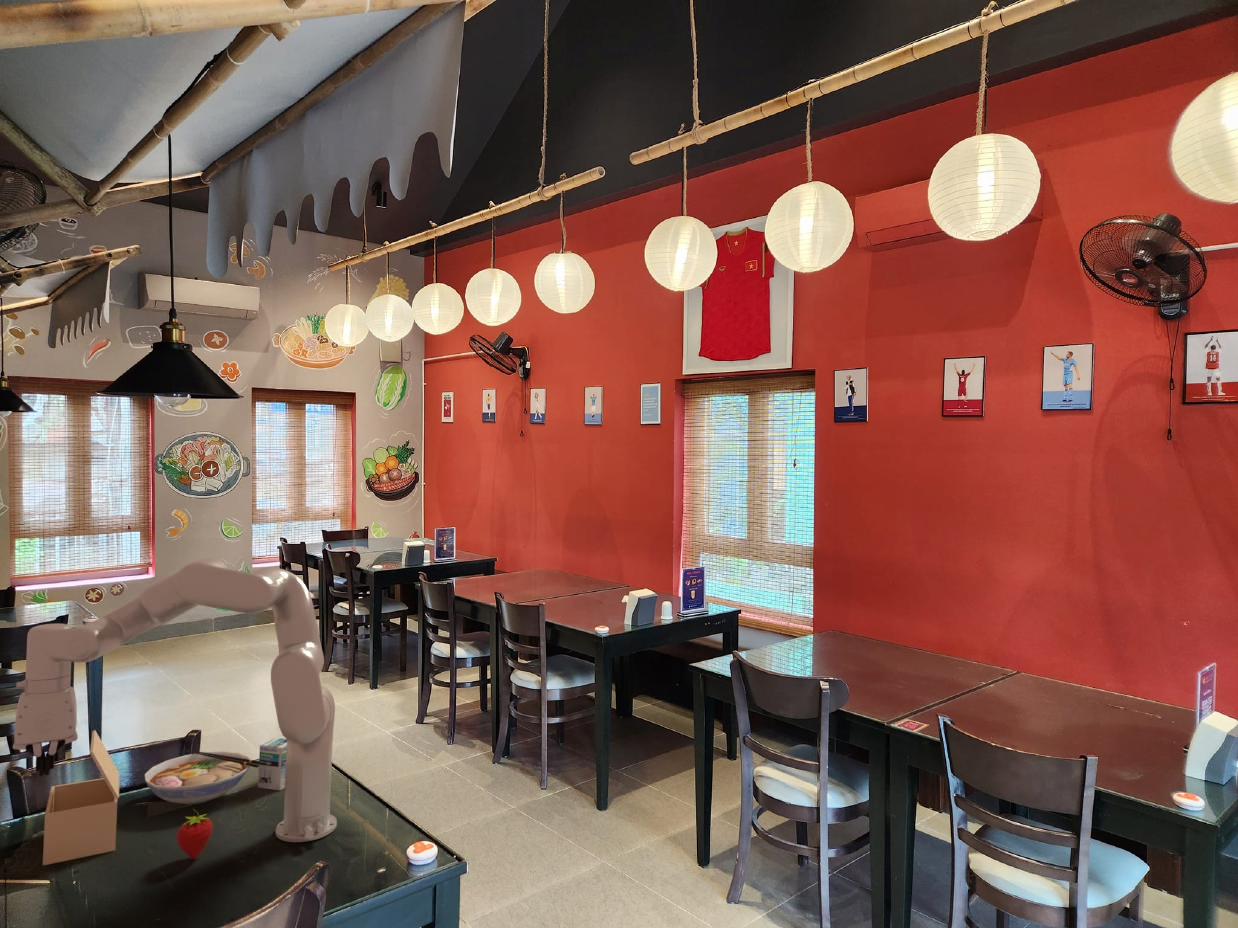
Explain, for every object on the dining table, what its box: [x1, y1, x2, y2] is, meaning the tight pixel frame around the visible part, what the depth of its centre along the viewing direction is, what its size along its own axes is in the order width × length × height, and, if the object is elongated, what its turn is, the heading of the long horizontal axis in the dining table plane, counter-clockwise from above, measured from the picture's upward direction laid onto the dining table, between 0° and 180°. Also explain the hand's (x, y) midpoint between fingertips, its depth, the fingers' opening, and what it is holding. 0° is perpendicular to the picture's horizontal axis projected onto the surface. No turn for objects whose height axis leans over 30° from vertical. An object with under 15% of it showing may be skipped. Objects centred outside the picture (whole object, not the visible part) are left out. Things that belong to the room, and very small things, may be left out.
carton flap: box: [89, 729, 120, 800], centre depth 161 cm, size 16×12×1 cm
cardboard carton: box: [42, 777, 118, 866], centre depth 159 cm, size 16×12×10 cm
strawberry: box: [176, 808, 214, 860], centre depth 153 cm, size 6×8×10 cm
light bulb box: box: [257, 733, 287, 791], centre depth 193 cm, size 11×7×11 cm, turn 168°
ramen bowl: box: [144, 749, 265, 805], centre depth 182 cm, size 25×23×8 cm
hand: (44, 772), depth 156 cm, fingers closed
